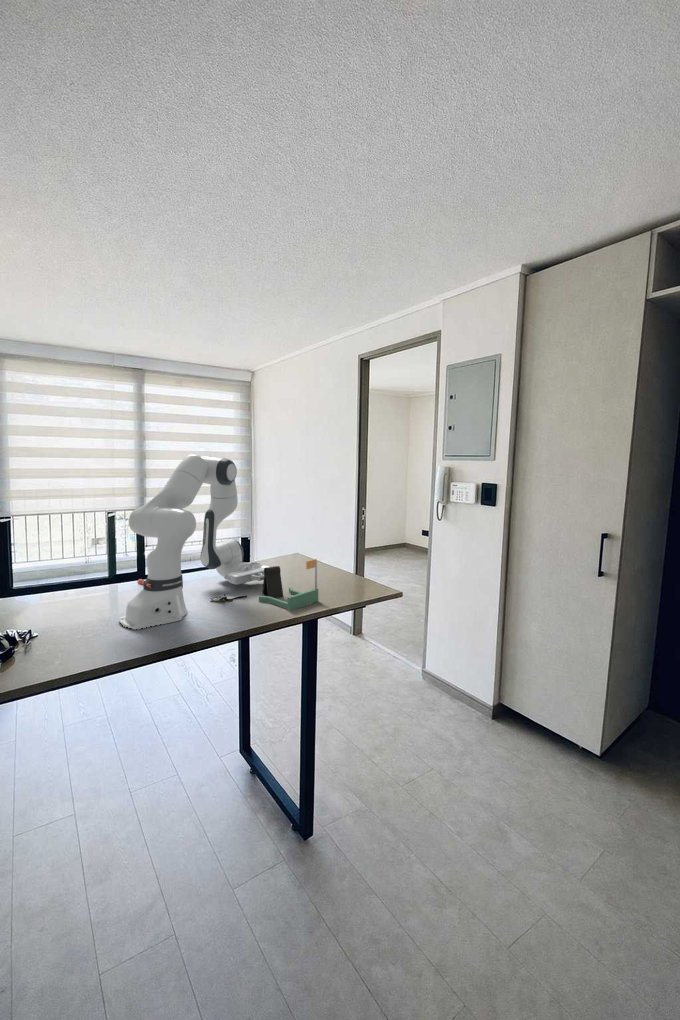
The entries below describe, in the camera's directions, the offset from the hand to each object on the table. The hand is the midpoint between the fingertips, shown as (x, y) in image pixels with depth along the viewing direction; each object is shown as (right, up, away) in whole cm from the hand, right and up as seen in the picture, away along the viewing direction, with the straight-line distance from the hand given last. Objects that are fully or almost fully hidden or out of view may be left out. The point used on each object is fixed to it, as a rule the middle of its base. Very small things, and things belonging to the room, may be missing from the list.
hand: (262, 578), depth 187 cm
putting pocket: (+12, -7, -10) cm, 18 cm away
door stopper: (+5, -7, -4) cm, 9 cm away
